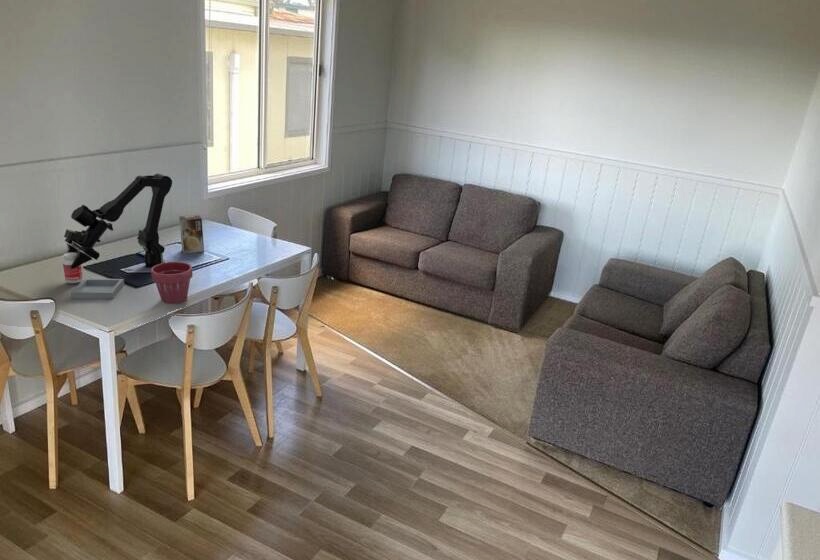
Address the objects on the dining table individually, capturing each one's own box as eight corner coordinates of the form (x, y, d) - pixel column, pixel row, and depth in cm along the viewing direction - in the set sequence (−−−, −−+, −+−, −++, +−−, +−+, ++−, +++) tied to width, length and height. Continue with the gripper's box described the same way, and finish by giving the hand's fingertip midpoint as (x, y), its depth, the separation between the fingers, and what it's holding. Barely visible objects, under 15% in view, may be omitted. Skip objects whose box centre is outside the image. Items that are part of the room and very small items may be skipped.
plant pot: (145, 302, 229) (142, 270, 225) (170, 289, 242) (168, 259, 237) (177, 309, 225) (175, 276, 221) (201, 296, 238) (199, 265, 233)
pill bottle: (84, 282, 242) (80, 255, 238) (66, 284, 238) (62, 257, 234) (82, 277, 246) (78, 250, 242) (64, 279, 243) (60, 252, 239)
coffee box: (201, 247, 291) (199, 214, 286) (204, 252, 286) (202, 218, 280) (181, 249, 287) (179, 216, 282) (183, 253, 282) (181, 219, 276)
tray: (124, 284, 244) (123, 279, 243) (112, 299, 230) (112, 292, 229) (85, 284, 242) (84, 278, 241) (71, 298, 228) (70, 292, 227)
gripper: (66, 216, 242) (40, 248, 239) (87, 227, 231) (60, 261, 227) (89, 231, 251) (65, 263, 247) (110, 243, 240) (85, 276, 236)
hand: (68, 265), depth 239 cm, fingers closed on pill bottle, 6 cm apart
